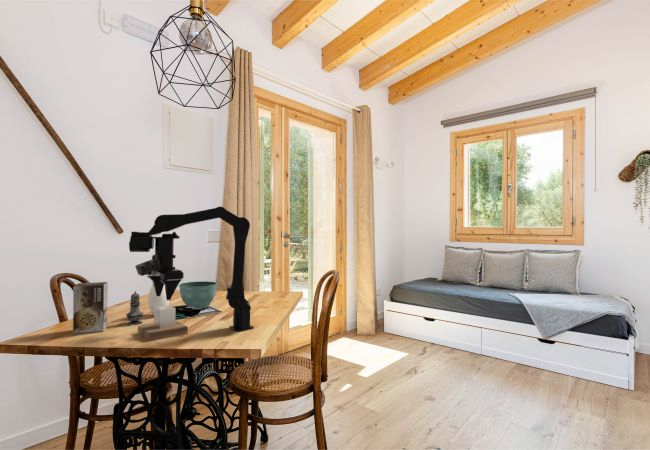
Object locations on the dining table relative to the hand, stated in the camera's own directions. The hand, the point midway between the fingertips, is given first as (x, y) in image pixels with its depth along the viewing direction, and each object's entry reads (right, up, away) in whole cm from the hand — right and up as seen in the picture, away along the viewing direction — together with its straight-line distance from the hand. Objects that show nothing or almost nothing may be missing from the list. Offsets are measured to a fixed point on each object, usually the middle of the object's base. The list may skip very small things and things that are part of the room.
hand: (163, 298), depth 120 cm
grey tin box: (0, -10, 0) cm, 9 cm away
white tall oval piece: (-13, -12, +25) cm, 31 cm away
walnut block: (0, -13, 0) cm, 13 cm away
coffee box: (-26, -12, +2) cm, 29 cm away
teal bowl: (-2, -13, +39) cm, 41 cm away
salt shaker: (-16, -12, +12) cm, 24 cm away
